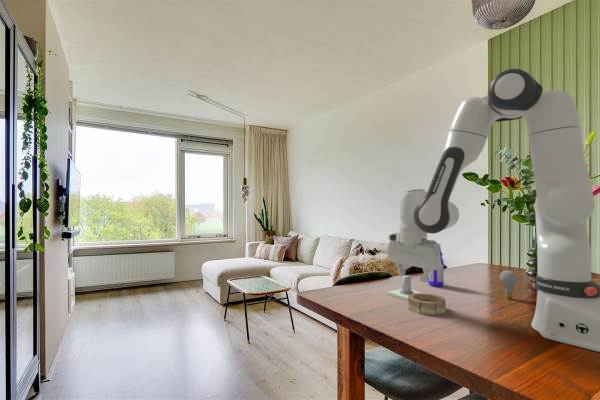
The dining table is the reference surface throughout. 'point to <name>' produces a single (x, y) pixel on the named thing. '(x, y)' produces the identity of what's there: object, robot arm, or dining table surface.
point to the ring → (426, 303)
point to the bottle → (437, 274)
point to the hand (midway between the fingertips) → (412, 278)
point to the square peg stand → (403, 289)
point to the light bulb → (508, 282)
